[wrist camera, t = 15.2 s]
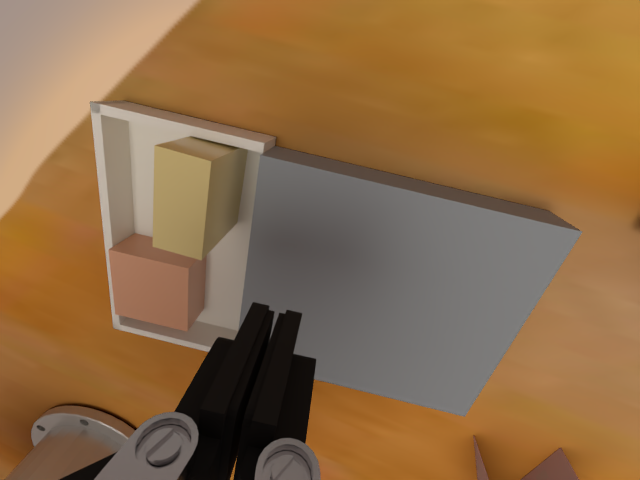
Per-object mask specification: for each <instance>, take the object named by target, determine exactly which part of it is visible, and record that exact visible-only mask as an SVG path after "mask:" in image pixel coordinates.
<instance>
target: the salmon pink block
mask: <svg viewBox="0 0 640 480" xmlns="http://www.w3.org/2000/svg"><path fill="white" fill-rule="evenodd" d="M108 251H109V260H110V270H111V279H112V288H113V297H114V307H115V314H116V315H120V316H125V317H129V318H133V319H137V320H141V321H145V322H150V323H154V324H158V325H162V326H166V327H170V328H174V329H179V330H183V331H188V330H189V329H190V327H191V326H192V325H193V323H194V322H195V320H196V319H197V318H198V316H199V315H200V314H201V312H202V311H203V309H204V300H205V279H206V258H207V255H206V256H205V257H204V258H203V259H202V260H198V259H195V258H191V257H188V256H184V255H180V254H177V253H173V252H170V251H166V250H163V249H159V248H156V247H153V237H150V236H145V235H141V234H137V233H134V234H133V235H131V236H130V237H128V238H126V239H125V240H123V241H121V242H120V243H118V244H117V245H115V246H113V247H112V248H110V249H109V250H108Z"/></svg>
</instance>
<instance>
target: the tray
mask: <svg viewBox="0 0 640 480" xmlns="http://www.w3.org/2000/svg"><path fill="white" fill-rule="evenodd" d="M90 107H91V117H92V126H93V136H94V146H95V155H96V165H97V175H98V185H99V194H100V204H101V214H102V223H103V233H104V243H105V252H106V262H107V272H108V282H109V291H110V301H111V311H112V320H113V328H114V329H118V330H122V331H126V332H130V333H134V334H138V335H142V336H146V337H150V338H154V339H158V340H162V341H166V342H170V343H174V344H178V345H182V346H186V347H190V348H194V349H198V350H202V351H206V352H209V351H210V349H211V347H212V345H213V344H214V342H215V340H216V339H217V338H218V337H222V338H227V339H231V340H234V339H235V337H236V335H237V333H238V329H239V321H240V313H241V305H242V297H243V289H244V281H245V273H246V265H247V257H248V249H249V241H250V233H251V225H252V217H253V209H254V200H255V192H256V184H257V176H258V168H259V160H260V155H261V154H262V153H264V152H266V151H267V150H269V149H271V148H272V147H274V146H275V143H276V137H275V136H270V135H266V134H262V133H258V132H254V131H249V130H245V129H241V128H237V127H233V126H228V125H224V124H220V123H216V122H212V121H207V120H203V119H199V118H195V117H190V116H186V115H182V114H178V113H174V112H169V111H165V110H161V109H157V108H153V107H148V106H144V105H140V104H136V103H132V102H127V101H95V102H90ZM189 136H193V137H197V138H201V139H206V140H210V141H214V142H218V143H222V144H227V145H231V146H235V147H239V148H243V149H248V153H247V160H246V167H245V174H244V180H243V187H242V194H241V201H240V207H239V214H238V221H237V224H236V225H235V226H234V227H233V228H232V229H231V230H230V231H229V232H228V233H227V234H226V235H225V236H224V237H223V238H222V239H221V240H220V242H219V243H218V244H217V245H216V246H215V247H214V248H213V249H212V250H211V251H210V252H209V253H208V254H207V258H206V279H205V300H204V309H203V311H202V312H201V314H200V315H199V316H198V318H197V319H196V320H195V322H194V323H193V325H192V326H191V327H190V329H189V330H188V331H183V330H179V329H174V328H170V327H166V326H162V325H158V324H154V323H150V322H145V321H141V320H137V319H133V318H129V317H125V316H120V315H116V314H115V307H114V297H113V288H112V279H111V270H110V260H109V251H108V250H109V249H110V248H112V247H113V246H115V245H117V244H118V243H120V242H121V241H123V240H125V239H126V238H128V237H130V236H131V235H133V234H134V233H137V234H141V235H145V236H150V237H153V192H154V145H157V144H161V143H165V142H169V141H173V140H177V139H181V138H185V137H189Z"/></svg>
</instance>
